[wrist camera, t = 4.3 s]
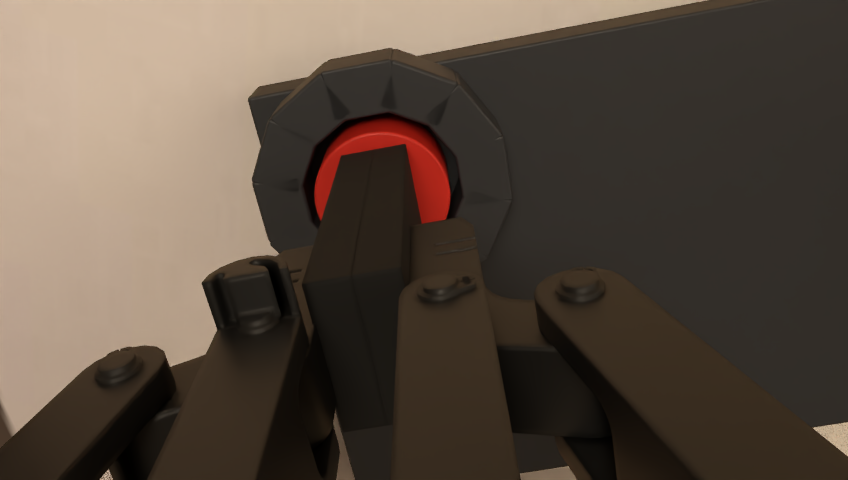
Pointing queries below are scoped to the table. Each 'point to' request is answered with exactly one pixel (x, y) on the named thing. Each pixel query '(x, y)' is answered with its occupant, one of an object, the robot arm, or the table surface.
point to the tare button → (386, 133)
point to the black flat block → (623, 176)
